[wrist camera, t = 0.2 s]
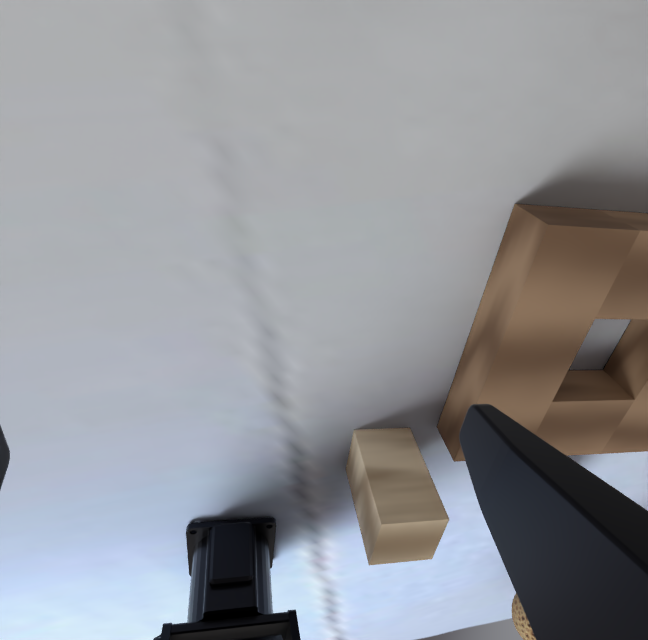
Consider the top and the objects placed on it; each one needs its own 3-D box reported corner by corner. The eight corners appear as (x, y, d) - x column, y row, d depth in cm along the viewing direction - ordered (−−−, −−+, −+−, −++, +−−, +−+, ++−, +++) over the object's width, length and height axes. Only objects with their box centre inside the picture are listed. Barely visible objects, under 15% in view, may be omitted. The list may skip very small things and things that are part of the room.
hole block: (629, 420, 34) (660, 450, 32) (437, 427, 31) (454, 461, 29) (760, 221, 26) (815, 241, 24) (514, 203, 23) (548, 224, 20)
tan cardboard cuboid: (398, 466, 33) (432, 559, 27) (345, 469, 32) (369, 565, 26) (409, 427, 31) (449, 519, 25) (354, 429, 30) (381, 524, 24)
